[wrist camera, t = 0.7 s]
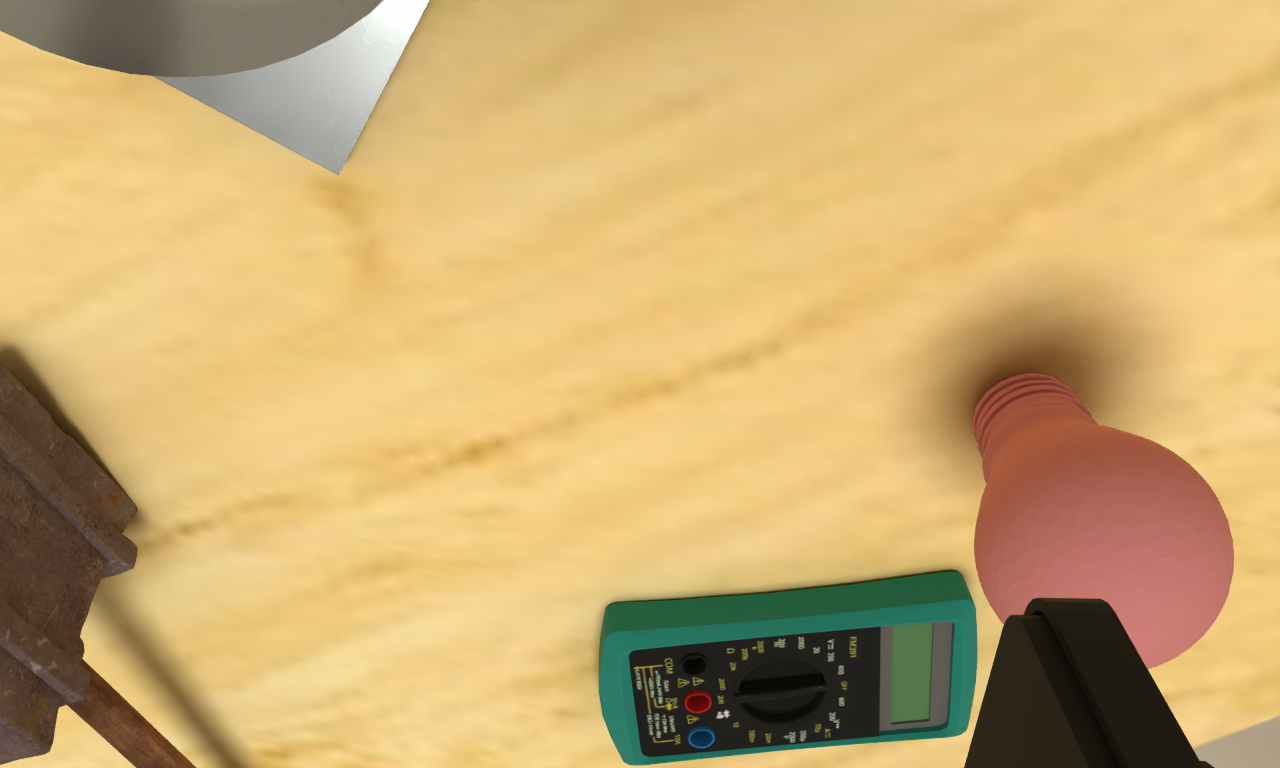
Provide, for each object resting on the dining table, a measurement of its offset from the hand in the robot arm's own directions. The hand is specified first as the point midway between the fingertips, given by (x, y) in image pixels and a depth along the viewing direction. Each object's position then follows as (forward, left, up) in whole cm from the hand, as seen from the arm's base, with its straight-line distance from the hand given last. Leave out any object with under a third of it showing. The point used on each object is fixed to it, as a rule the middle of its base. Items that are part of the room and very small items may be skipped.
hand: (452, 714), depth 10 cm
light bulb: (+4, +21, -28) cm, 35 cm away
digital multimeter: (+18, +21, -29) cm, 40 cm away
